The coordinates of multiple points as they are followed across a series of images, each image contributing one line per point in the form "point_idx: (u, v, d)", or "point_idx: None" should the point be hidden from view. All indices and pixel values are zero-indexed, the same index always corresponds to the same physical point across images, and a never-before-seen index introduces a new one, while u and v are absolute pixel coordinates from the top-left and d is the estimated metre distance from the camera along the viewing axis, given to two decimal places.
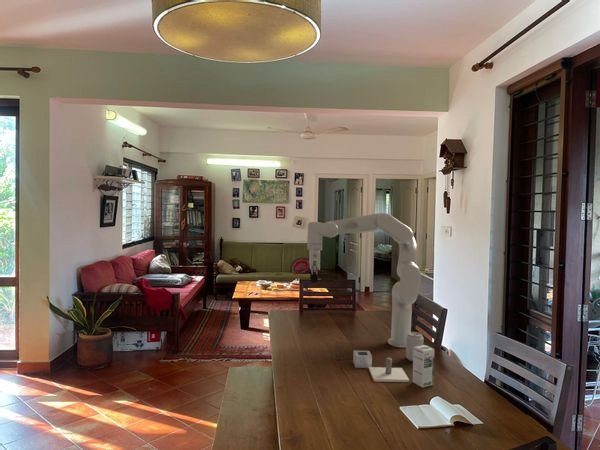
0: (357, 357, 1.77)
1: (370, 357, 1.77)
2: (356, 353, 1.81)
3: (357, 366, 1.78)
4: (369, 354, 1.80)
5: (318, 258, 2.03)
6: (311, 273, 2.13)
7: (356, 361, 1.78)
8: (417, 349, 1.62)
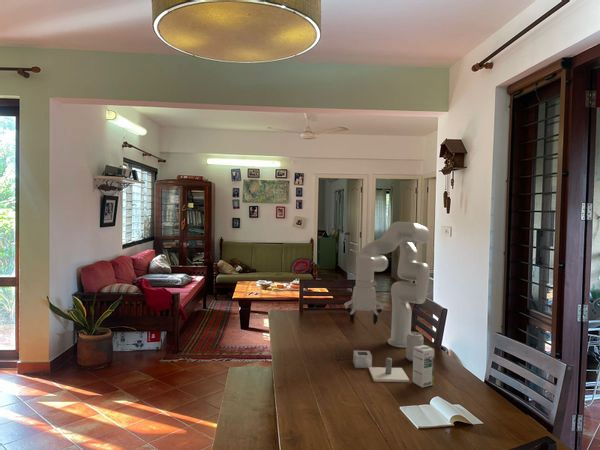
0: (357, 357, 1.77)
1: (370, 357, 1.77)
2: (356, 353, 1.81)
3: (357, 366, 1.78)
4: (369, 354, 1.80)
5: None
6: (353, 317, 1.79)
7: (356, 361, 1.78)
8: (417, 349, 1.62)
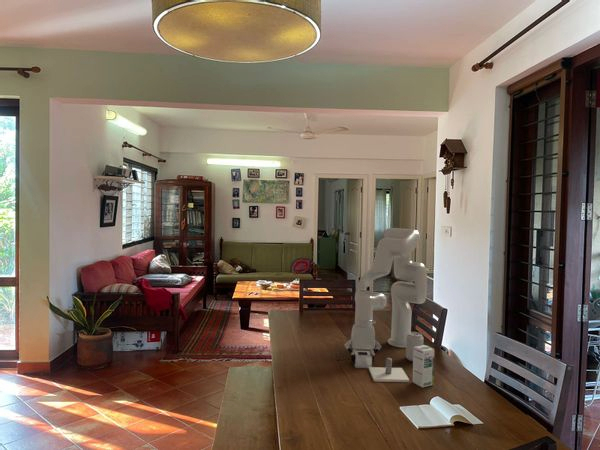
0: (357, 357, 1.77)
1: (370, 358, 1.77)
2: (356, 353, 1.81)
3: (357, 366, 1.78)
4: (369, 354, 1.80)
5: None
6: (354, 357, 1.80)
7: (356, 361, 1.78)
8: (417, 349, 1.62)
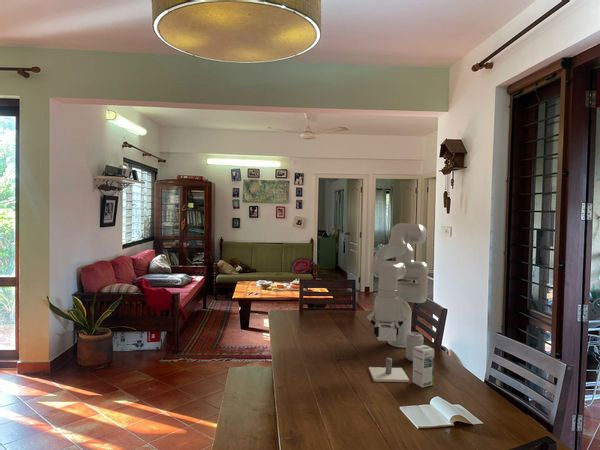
0: (381, 329, 1.67)
1: (395, 330, 1.67)
2: (379, 325, 1.71)
3: (381, 339, 1.67)
4: (393, 326, 1.70)
5: None
6: None
7: (380, 333, 1.67)
8: (417, 349, 1.62)
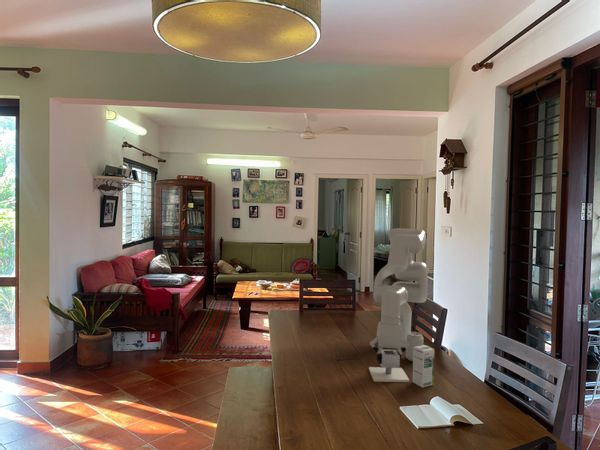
0: (384, 356, 1.66)
1: (398, 357, 1.66)
2: (382, 352, 1.69)
3: (384, 366, 1.66)
4: (396, 353, 1.69)
5: None
6: None
7: (383, 360, 1.66)
8: (417, 349, 1.62)
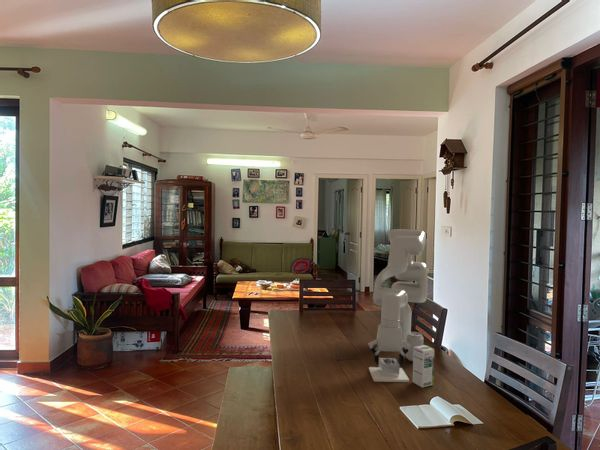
0: (384, 365, 1.67)
1: (398, 366, 1.67)
2: (382, 361, 1.70)
3: (384, 375, 1.67)
4: (395, 362, 1.69)
5: None
6: (378, 357, 1.69)
7: (382, 369, 1.67)
8: (417, 349, 1.62)
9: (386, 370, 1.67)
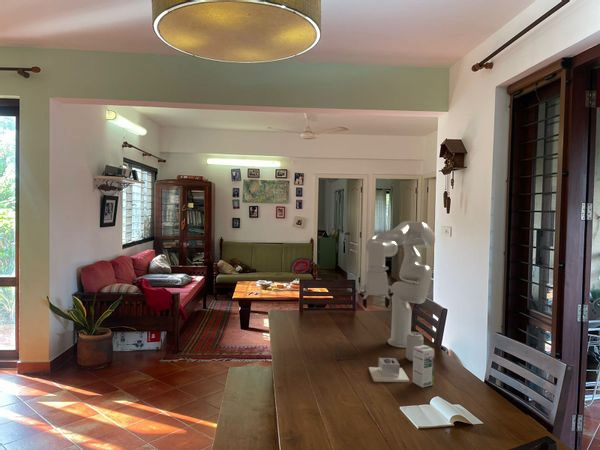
0: (384, 365, 1.67)
1: (398, 366, 1.67)
2: (382, 361, 1.70)
3: (384, 375, 1.67)
4: (395, 362, 1.69)
5: None
6: None
7: (382, 369, 1.67)
8: (417, 349, 1.62)
9: (386, 370, 1.67)
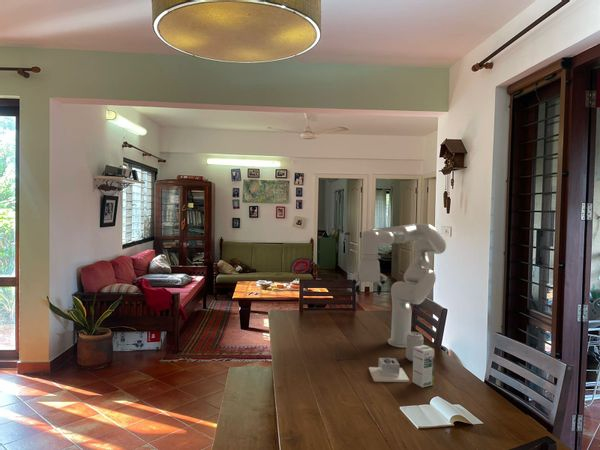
0: (384, 365, 1.67)
1: (398, 366, 1.67)
2: (382, 361, 1.70)
3: (384, 375, 1.67)
4: (395, 362, 1.69)
5: None
6: None
7: (382, 369, 1.67)
8: (417, 349, 1.62)
9: (386, 370, 1.67)
